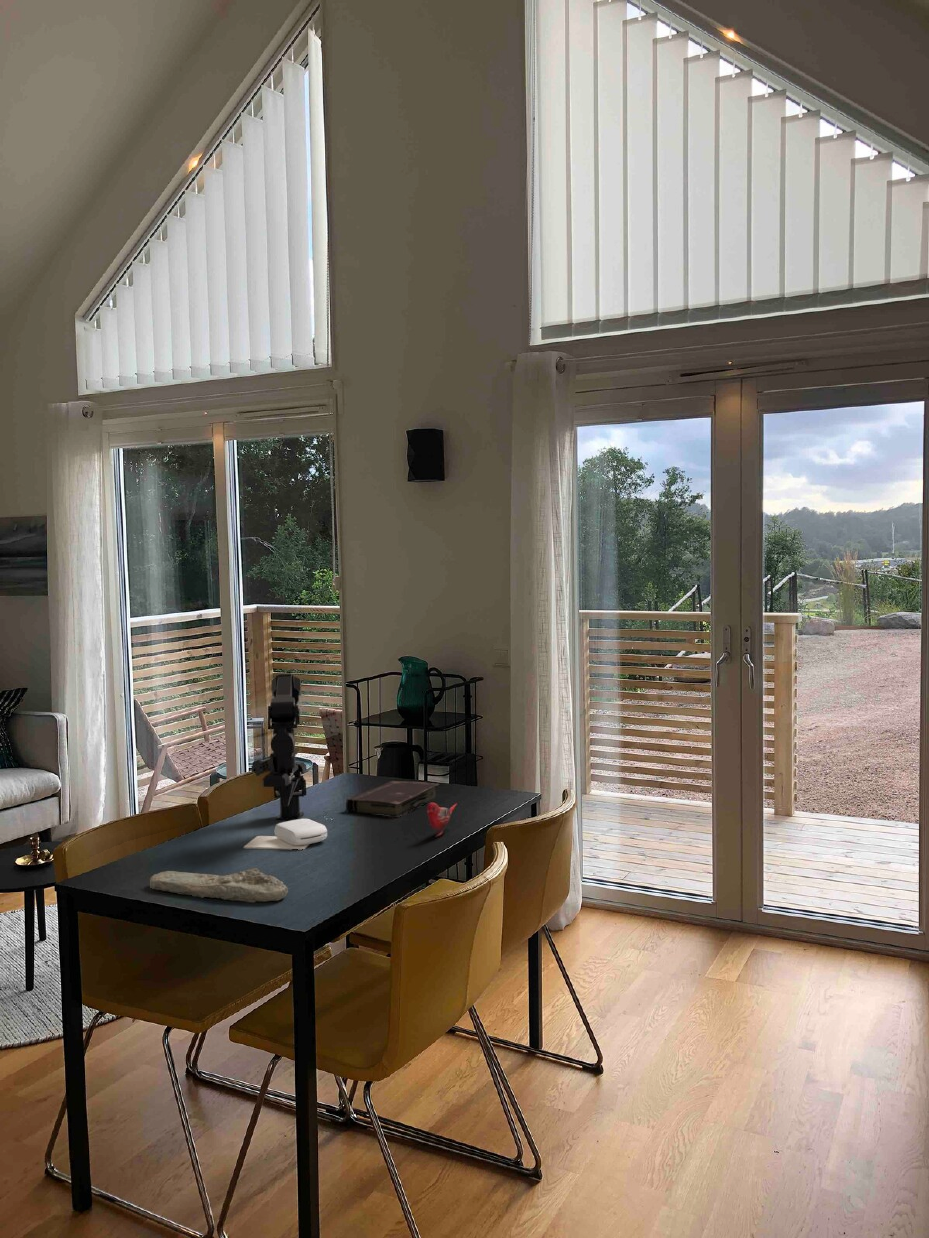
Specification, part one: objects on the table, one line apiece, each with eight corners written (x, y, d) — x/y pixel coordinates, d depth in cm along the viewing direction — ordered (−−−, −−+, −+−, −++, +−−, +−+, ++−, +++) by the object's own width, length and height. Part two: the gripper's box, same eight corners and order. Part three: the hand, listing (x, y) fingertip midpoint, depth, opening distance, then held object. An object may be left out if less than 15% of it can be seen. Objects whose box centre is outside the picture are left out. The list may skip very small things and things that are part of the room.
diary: (345, 814, 294) (344, 797, 294) (389, 795, 316) (389, 779, 316) (400, 819, 285) (399, 802, 285) (442, 799, 308) (441, 783, 307)
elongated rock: (167, 884, 236) (140, 900, 227) (164, 862, 236) (137, 878, 226) (298, 890, 224) (274, 908, 215) (295, 867, 223) (272, 884, 214)
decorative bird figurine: (423, 841, 261) (422, 803, 261) (452, 824, 277) (452, 789, 277) (433, 843, 260) (432, 804, 259) (462, 825, 276) (461, 789, 275)
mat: (257, 837, 269) (257, 835, 269) (315, 838, 266) (315, 837, 266) (243, 848, 259) (243, 846, 259) (303, 849, 256) (303, 848, 256)
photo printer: (308, 816, 272) (330, 825, 262) (308, 831, 272) (331, 841, 262) (273, 822, 265) (294, 832, 255) (274, 838, 266) (295, 849, 256)
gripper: (267, 741, 277) (269, 797, 278) (242, 754, 259) (244, 814, 260) (306, 741, 275) (307, 797, 276) (283, 755, 257) (285, 815, 258)
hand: (286, 805), depth 268 cm, fingers closed
